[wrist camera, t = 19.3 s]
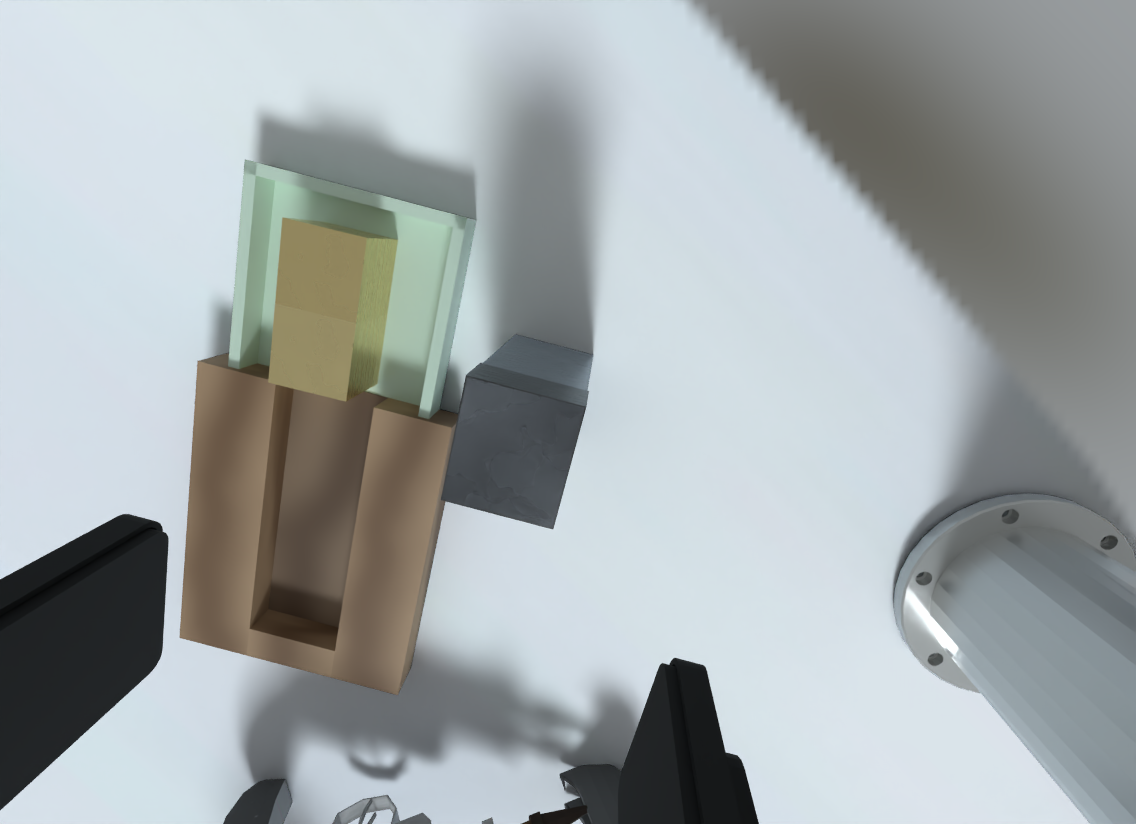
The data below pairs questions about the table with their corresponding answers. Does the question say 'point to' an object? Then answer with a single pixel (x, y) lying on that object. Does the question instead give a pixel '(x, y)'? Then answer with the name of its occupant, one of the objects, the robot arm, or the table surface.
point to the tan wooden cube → (334, 270)
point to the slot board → (311, 524)
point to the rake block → (518, 430)
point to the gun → (269, 802)
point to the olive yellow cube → (325, 353)
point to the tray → (419, 283)
